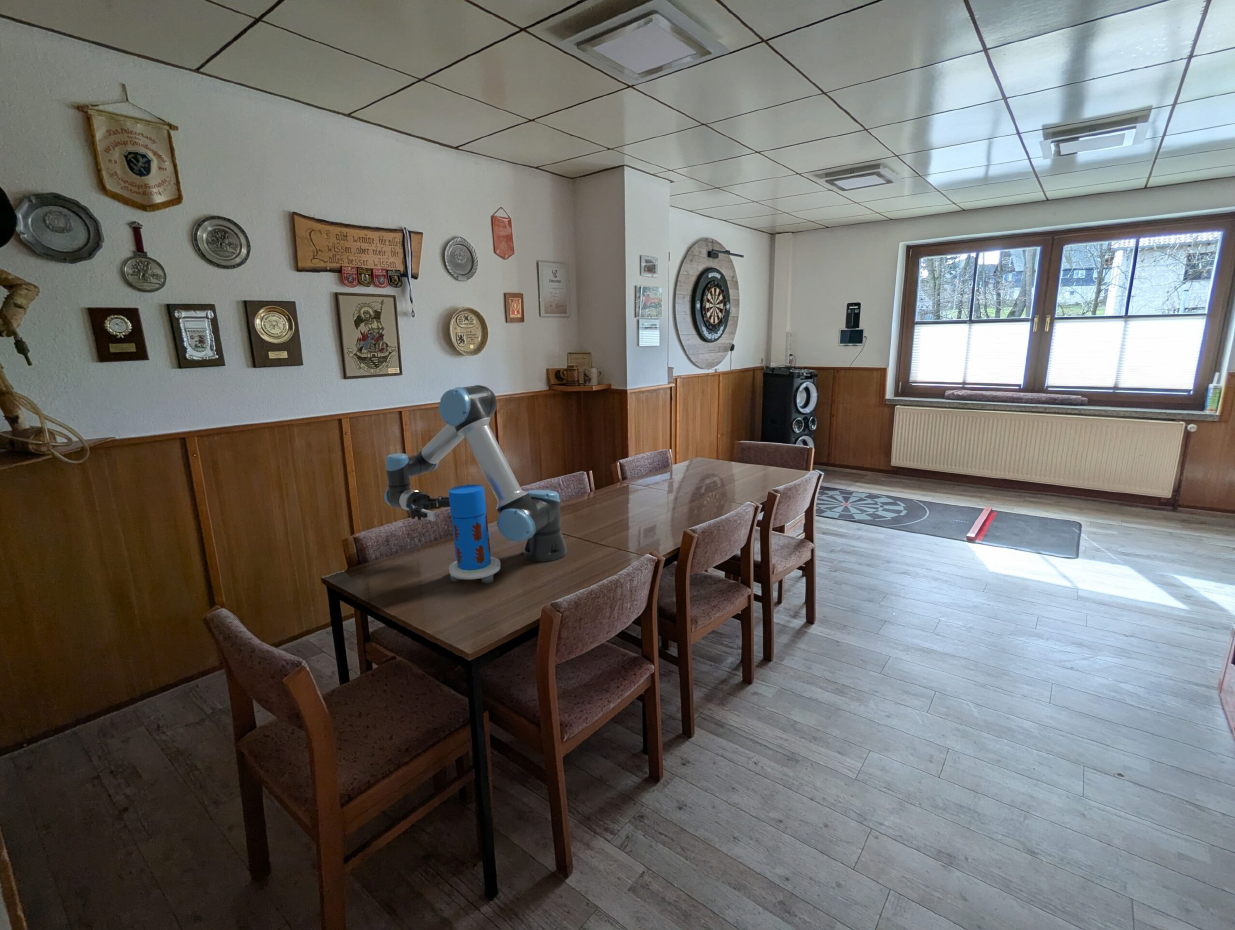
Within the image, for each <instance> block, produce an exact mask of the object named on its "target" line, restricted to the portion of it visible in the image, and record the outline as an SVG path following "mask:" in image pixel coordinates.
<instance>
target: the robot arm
mask: <svg viewBox="0 0 1235 930" xmlns="http://www.w3.org/2000/svg"><path fill="white" fill-rule="evenodd" d="M497 407H498V400H497V396H496V394H495V393H494V392H493V390H492V389H490V388H489V387H488V386H485V385H479V384H475V385H470V386H463V387H460V386H459V387H455V388H451V389H448V390H447V391H445V392H444V393H443V394H442V396H441V397H440V400H439V405H438V412H439V415H440V418H441V420H442V421H443V422H444V424H446V425H445V426H444V427H443V428H442V429H441V430H439V432H438V433H436V435H435V436H434V437H433V438H432V439H431V440H430V441H429V442H428V443H427V444H426V445H424V447H423V448H422V449H421V450H420V451H419V452H417V453H416V454H414V455H410V456H408V454H406V453H391V454H388V455H386V457H385V470H386V478H387V488H385V492H384V494H383V499H384V501H385V503H386V504H388V505H389V506H391V507H393V508H397V509H401V510H405V511H406V513H408V514H409V517H410V519H411V520H414V519H417V521H421V520H422V519H425V520H428V521H432V522H436V521H437V520H436V512H435V511H431V510H436V509H437V510H439V509H441V508H450V502H449V496H441V495H439V496H438V497H437V498H436V497H435V498H434V497H431V496H430V495H429V494H428V493H426V492H423V491H419V490H414V489H412V487H411V478H414V477H416V476H419V475H423V474H427V473H430V472H432V471H435V470H436V469H437V468H438V467H439V463H440V461H441V460H442V459H443V458H444V457H445V456H447V455H448V454H449V453H450V452H451V451H452V450H453V449H454V448H455V447H456V446H457V445H458V444H459V443H461V442H462V441H463V439H465V440H466V442H467V444H468V446H469V448H470V450H471V452H472V453H473V456H474V458H475V459H476V462H477V464H478V465H479V467H480V469H481V471H482V474H483V476H484V478H485V479H486V482H487V483H488V486H489V487H490V489H491V491H492V493H493V495H494V497H495V499H496V501H497V504H496V507H495V510H496V511H497V513H498V516H497V521H496V526H497V529H498V531H499V533H500V534H501V536H502V537H503V538H505V539H506V540H508V541H512V542H513V543H514V542H515V543H519V542H524V541H525V543H524V546H523V556H524V558H525V559H526V560H529V561H533V562H550V561H555V560H559V559H562V558H564V557H565V556H566V555H567V543H566V542H565V540H564V536H563V534H562V530H561V529H562V528H561V526H562V525H561V500H560V495H559V493H558V491H555V490H549V489H534V490H533V489H532V490H527V491H526V490H523V489H522V488H521V486H520V483H519V481H518V480H517V478H516V476H515V474H514V472H513V470H512V468H511V467H510V464H509V462H508V460H507V458H506V456H505V455H504V453H503V451H502V449H501V446H500V445H499V443H498V441H497V439H496V436H495V435H494V433H493V431H492V429H491V427H490V422H491V417H492V416H494V414H495V412H496V410H497Z"/></svg>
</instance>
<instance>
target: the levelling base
mask: <svg viewBox="0 0 1235 930" xmlns="http://www.w3.org/2000/svg"><path fill="white" fill-rule="evenodd" d="M500 569H501V561H500V559H498V558H497V557H494V556H491V563H490V564H489V565H488V566H486V567H484V568H481V569H477V570H462V569H459V568H458V565H457V560H455V561H453V562H451V564H450V565H449V567H448V570H449V575H450V576H449V577H450V581H451V582H453V583H457V582H461V581H462V580H476V579H481V583H482V584H491V583H493V582H494V575H495V574H496V573H498V572H499V571H500Z"/></svg>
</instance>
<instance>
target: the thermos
mask: <svg viewBox="0 0 1235 930" xmlns="http://www.w3.org/2000/svg"><path fill="white" fill-rule="evenodd" d="M484 489H485V488H484V486H483V485H481V484H474V483H473V484H462V485H458V486H454V487H452V488H450V489H449V490H448V497H449V502H450V507H449V511H450V518H451V524H452V527H451V528H452V535H453V543H454V551H455V559H456V561H457V565H458V568H459V569H462V570H477V569H481V568H484V567H486V566H488V565H489V564H490V563H491V557H492V555H491V544H490V534H489V526H488V525H489V523H488V514H487V513H488V512H487V505H486V496H485V495H486V494H485V490H484Z"/></svg>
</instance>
